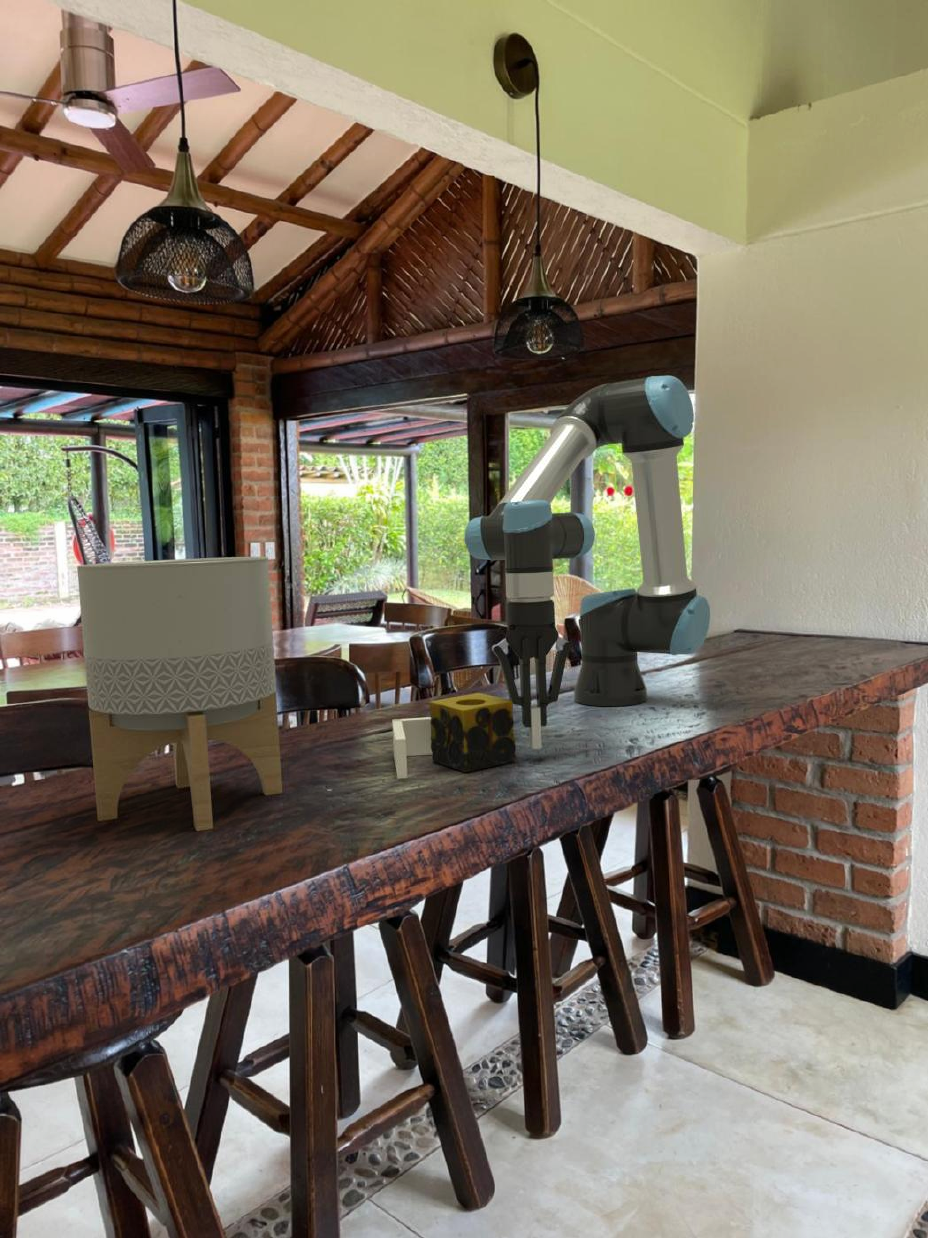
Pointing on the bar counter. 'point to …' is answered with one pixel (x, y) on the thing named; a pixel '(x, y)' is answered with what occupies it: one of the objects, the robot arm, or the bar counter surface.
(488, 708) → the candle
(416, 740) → the white angular piece
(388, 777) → the bar counter surface
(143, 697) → the planter
